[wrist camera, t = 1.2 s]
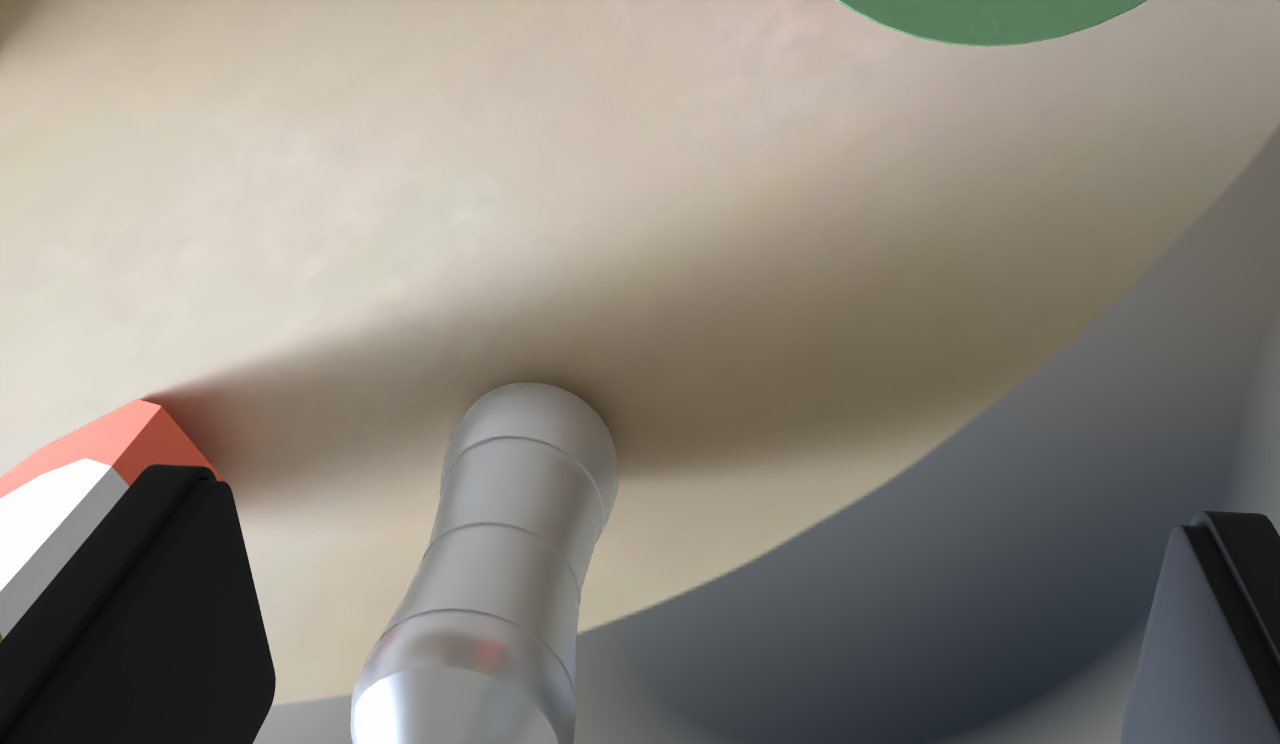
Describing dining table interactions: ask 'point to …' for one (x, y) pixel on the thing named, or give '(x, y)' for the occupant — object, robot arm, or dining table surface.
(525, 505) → the plastic bottle
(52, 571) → the french fries container
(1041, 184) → the dining table surface
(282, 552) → the dining table surface
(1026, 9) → the lid
